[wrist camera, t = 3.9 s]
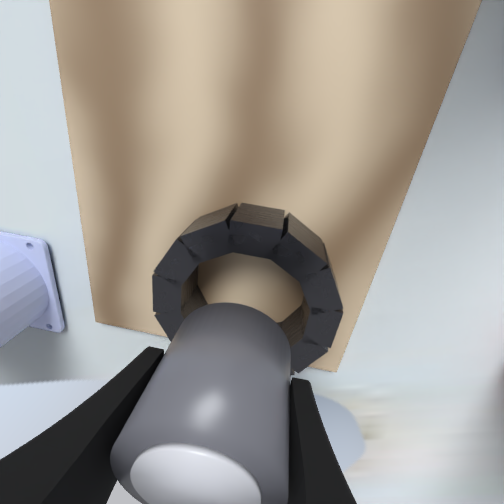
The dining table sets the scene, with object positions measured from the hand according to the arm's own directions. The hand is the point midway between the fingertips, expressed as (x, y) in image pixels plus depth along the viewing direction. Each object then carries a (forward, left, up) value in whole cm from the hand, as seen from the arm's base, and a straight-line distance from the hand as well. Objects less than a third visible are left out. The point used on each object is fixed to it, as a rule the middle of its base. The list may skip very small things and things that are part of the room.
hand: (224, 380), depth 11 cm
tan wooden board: (-2, +6, -8) cm, 10 cm away
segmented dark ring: (0, 0, -7) cm, 7 cm away
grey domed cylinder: (0, 0, -2) cm, 2 cm away
